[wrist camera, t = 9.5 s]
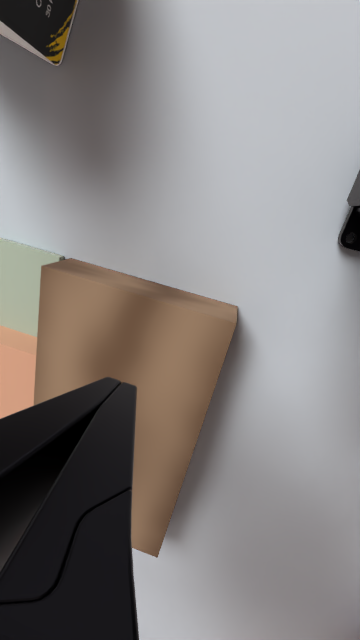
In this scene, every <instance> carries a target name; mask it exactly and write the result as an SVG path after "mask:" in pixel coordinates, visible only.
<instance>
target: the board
mask: <svg viewBox="0 0 360 640" xmlns="http://www.w3.org/2000/svg"><path fill="white" fill-rule="evenodd" d="M236 324H237V306H234V305H231V304H227V303H224V302H220V301H217V300H213V299H210V298H206V297H203V296H200V295H196V294H193V293H189V292H186V291H182V290H179V289H175V288H172V287H168V286H165V285H162V284H158V283H155V282H151V281H148V280H144V279H141V278H137V277H134V276H130V275H127V274H124V273H120V272H117V271H113V270H110V269H106V268H103V267H99V266H96V265H93V264H89V263H86V262H82V261H79V260H75V259H72V258H70V259H66V260H62V261H58V262H54V263H50V264H46V265H42V266H41V278H40V296H39V314H38V332H37V351H36V369H35V387H34V405H36V404H39V403H41V402H44V401H46V400H49V399H51V398H54V397H57V396H59V395H62V394H64V393H67V392H69V391H72V390H74V389H77V388H80V387H82V386H85V385H87V384H90V383H92V382H95V381H97V380H100V379H102V378H105V377H111V378H114V379H117V380H120V381H121V382H126V383H129V384H132V385H135V386H136V387H137V401H136V423H135V444H134V466H133V488H132V522H131V541H132V548H134V549H137V550H139V551H142V552H144V553H147V554H150V555H152V556H155V557H158V554H159V551H160V548H161V545H162V542H163V539H164V536H165V534H166V531H167V528H168V525H169V522H170V519H171V516H172V513H173V510H174V507H175V504H176V501H177V498H178V495H179V492H180V489H181V486H182V483H183V480H184V477H185V474H186V471H187V469H188V466H189V463H190V460H191V457H192V454H193V451H194V448H195V445H196V442H197V439H198V436H199V433H200V430H201V427H202V424H203V421H204V418H205V415H206V412H207V409H208V407H209V404H210V401H211V398H212V395H213V392H214V389H215V386H216V383H217V380H218V377H219V374H220V371H221V368H222V365H223V362H224V359H225V356H226V353H227V350H228V347H229V344H230V342H231V339H232V336H233V333H234V330H235V327H236ZM34 405H33V406H34Z"/></svg>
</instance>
